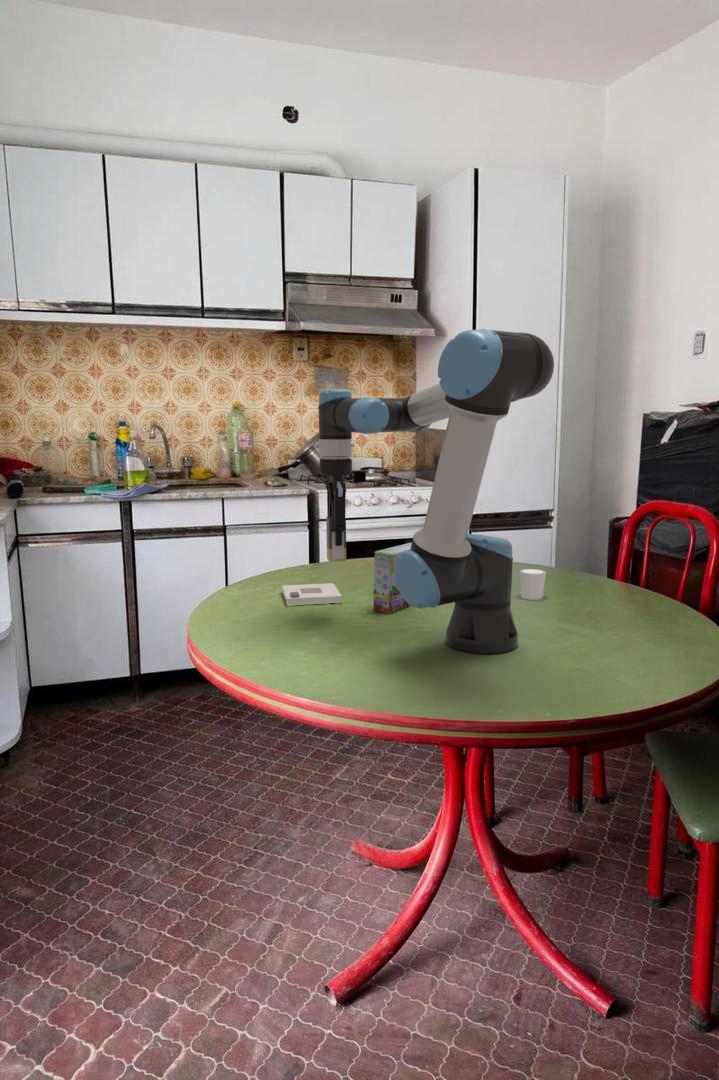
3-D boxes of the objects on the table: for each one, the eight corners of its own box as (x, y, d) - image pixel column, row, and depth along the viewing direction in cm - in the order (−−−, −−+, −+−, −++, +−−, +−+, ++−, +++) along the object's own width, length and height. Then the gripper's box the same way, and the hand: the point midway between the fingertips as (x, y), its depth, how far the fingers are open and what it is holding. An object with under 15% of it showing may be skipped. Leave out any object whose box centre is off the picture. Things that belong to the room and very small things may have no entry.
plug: (346, 560, 178) (345, 518, 176) (329, 561, 177) (328, 519, 175) (343, 557, 181) (343, 516, 180) (326, 558, 181) (326, 516, 179)
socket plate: (341, 603, 193) (341, 593, 192) (286, 606, 190) (286, 596, 190) (333, 590, 206) (333, 580, 206) (282, 592, 204) (281, 583, 203)
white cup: (547, 600, 195) (548, 574, 194) (521, 600, 196) (522, 574, 194) (541, 593, 202) (543, 568, 201) (516, 593, 202) (517, 568, 201)
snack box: (391, 615, 183) (391, 553, 180) (372, 611, 186) (372, 551, 183) (437, 597, 199) (438, 540, 197) (419, 593, 203) (420, 538, 200)
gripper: (358, 459, 167) (358, 563, 171) (345, 454, 184) (346, 549, 188) (324, 460, 166) (325, 565, 170) (314, 455, 182) (315, 550, 187)
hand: (336, 556), depth 179 cm, fingers closed on plug, 4 cm apart
